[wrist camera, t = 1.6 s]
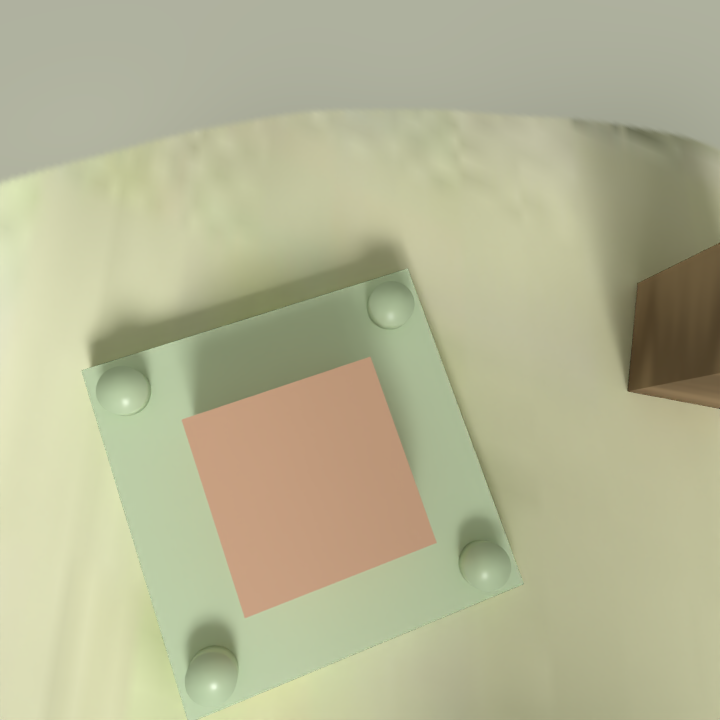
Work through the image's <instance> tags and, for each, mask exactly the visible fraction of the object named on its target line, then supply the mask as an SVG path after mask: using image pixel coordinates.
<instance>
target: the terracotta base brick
mask: <svg viewBox="0 0 720 720" xmlns="http://www.w3.org/2000/svg"><path fill="white" fill-rule="evenodd" d="M182 423H183V426H184V429H185V432H186V435H187V438H188V442H189V445H190V448H191V451H192V454H193V457H194V460H195V464H196V467H197V470H198V473H199V476H200V479H201V482H202V486H203V489H204V492H205V495H206V498H207V501H208V504H209V507H210V511H211V514H212V517H213V520H214V523H215V526H216V529H217V533H218V536H219V539H220V542H221V545H222V548H223V551H224V555H225V558H226V561H227V564H228V567H229V570H230V573H231V576H232V580H233V583H234V586H235V589H236V592H237V595H238V598H239V602H240V605H241V608H242V611H243V614H244V617H245V618H247V617H249V616H252V615H255V614H257V613H260V612H262V611H265V610H267V609H270V608H272V607H275V606H277V605H280V604H282V603H285V602H288V601H290V600H293V599H295V598H298V597H300V596H303V595H305V594H308V593H310V592H313V591H316V590H318V589H321V588H323V587H326V586H328V585H331V584H333V583H336V582H338V581H341V580H344V579H346V578H349V577H351V576H354V575H356V574H359V573H361V572H364V571H366V570H369V569H371V568H374V567H377V566H379V565H382V564H384V563H387V562H389V561H392V560H394V559H397V558H399V557H402V556H405V555H407V554H410V553H412V552H415V551H417V550H420V549H422V548H425V547H427V546H430V545H433V544H435V543H437V542H436V539H435V536H434V534H433V531H432V528H431V525H430V522H429V520H428V517H427V514H426V511H425V508H424V506H423V503H422V500H421V497H420V494H419V492H418V489H417V486H416V483H415V480H414V477H413V475H412V472H411V469H410V466H409V463H408V461H407V458H406V455H405V452H404V449H403V447H402V444H401V441H400V438H399V435H398V433H397V430H396V427H395V424H394V421H393V418H392V416H391V413H390V410H389V407H388V404H387V402H386V399H385V396H384V393H383V390H382V388H381V385H380V382H379V379H378V376H377V374H376V371H375V368H374V365H373V362H372V360H371V357H368V358H365V359H362V360H359V361H356V362H353V363H350V364H347V365H344V366H341V367H338V368H335V369H332V370H329V371H326V372H323V373H320V374H317V375H314V376H311V377H308V378H305V379H302V380H299V381H296V382H293V383H290V384H287V385H284V386H281V387H278V388H275V389H272V390H269V391H266V392H263V393H260V394H257V395H254V396H251V397H248V398H245V399H242V400H239V401H236V402H233V403H230V404H227V405H224V406H221V407H218V408H215V409H212V410H209V411H206V412H203V413H200V414H197V415H194V416H191V417H188V418H185V419H182Z"/></svg>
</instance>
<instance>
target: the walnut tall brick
mask: <svg viewBox="0 0 720 720" xmlns="http://www.w3.org/2000/svg"><path fill="white" fill-rule="evenodd" d="M628 391H629V392H634V393H639V394H645V395H650V396H655V397H660V398H666V399H671V400H676V401H682V402H687V403H692V404H698V405H703V406H708V407H714V408H719V409H720V243H718V244H716V245H714V246H712V247H710V248H708V249H706V250H704V251H702V252H700V253H698V254H696V255H694V256H692V257H690V258H688V259H686V260H684V261H682V262H680V263H678V264H676V265H674V266H672V267H670V268H668V269H666V270H664V271H662V272H660V273H658V274H656V275H654V276H652V277H650V278H648V279H646V280H644V281H642V282H640V283H638V285H637V296H636V307H635V318H634V329H633V339H632V350H631V361H630V372H629V383H628Z"/></svg>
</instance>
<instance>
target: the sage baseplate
mask: <svg viewBox="0 0 720 720" xmlns="http://www.w3.org/2000/svg"><path fill="white" fill-rule="evenodd" d="M368 357H371V360H372V362H373V365H374V368H375V371H376V374H377V376H378V379H379V382H380V385H381V388H382V390H383V393H384V396H385V399H386V402H387V404H388V407H389V410H390V413H391V416H392V418H393V421H394V424H395V427H396V430H397V433H398V435H399V438H400V441H401V444H402V447H403V449H404V452H405V455H406V458H407V461H408V463H409V466H410V469H411V472H412V475H413V477H414V480H415V483H416V486H417V489H418V492H419V494H420V497H421V500H422V503H423V506H424V508H425V511H426V514H427V517H428V520H429V522H430V525H431V528H432V531H433V534H434V536H435V539H436V542H437V543H435V544H433V545H430V546H427V547H425V548H422V549H420V550H417V551H415V552H412V553H410V554H407V555H405V556H402V557H399V558H397V559H394V560H392V561H389V562H387V563H384V564H382V565H379V566H377V567H374V568H371V569H369V570H366V571H364V572H361V573H359V574H356V575H354V576H351V577H349V578H346V579H344V580H341V581H338V582H336V583H333V584H331V585H328V586H326V587H323V588H321V589H318V590H316V591H313V592H310V593H308V594H305V595H303V596H300V597H298V598H295V599H293V600H290V601H288V602H285V603H282V604H280V605H277V606H275V607H272V608H270V609H267V610H265V611H262V612H260V613H257V614H255V615H252V616H249V617H247V618H245V617H244V614H243V611H242V608H241V605H240V602H239V598H238V595H237V592H236V589H235V586H234V583H233V580H232V576H231V573H230V570H229V567H228V564H227V561H226V558H225V555H224V551H223V548H222V545H221V542H220V539H219V536H218V533H217V529H216V526H215V523H214V520H213V517H212V514H211V511H210V507H209V504H208V501H207V498H206V495H205V492H204V489H203V486H202V482H201V479H200V476H199V473H198V470H197V467H196V464H195V460H194V457H193V454H192V451H191V448H190V445H189V442H188V438H187V435H186V432H185V429H184V426H183V423H182V419H185V418H188V417H191V416H194V415H197V414H200V413H203V412H206V411H209V410H212V409H215V408H218V407H221V406H224V405H227V404H230V403H233V402H236V401H239V400H242V399H245V398H248V397H251V396H254V395H257V394H260V393H263V392H266V391H269V390H272V389H275V388H278V387H281V386H284V385H287V384H290V383H293V382H296V381H299V380H302V379H305V378H308V377H311V376H314V375H317V374H320V373H323V372H326V371H329V370H332V369H335V368H338V367H341V366H344V365H347V364H350V363H353V362H356V361H359V360H362V359H365V358H368ZM81 371H82V374H83V377H84V381H85V384H86V387H87V391H88V394H89V397H90V400H91V404H92V407H93V410H94V414H95V417H96V420H97V424H98V427H99V430H100V433H101V437H102V440H103V443H104V447H105V450H106V453H107V456H108V460H109V463H110V466H111V470H112V473H113V476H114V479H115V483H116V486H117V489H118V493H119V496H120V499H121V502H122V506H123V509H124V512H125V516H126V519H127V522H128V526H129V529H130V532H131V535H132V539H133V542H134V545H135V549H136V552H137V555H138V558H139V562H140V565H141V568H142V572H143V575H144V578H145V581H146V585H147V588H148V591H149V595H150V598H151V601H152V604H153V608H154V611H155V614H156V618H157V621H158V624H159V628H160V631H161V634H162V637H163V641H164V644H165V647H166V651H167V654H168V657H169V660H170V664H171V667H172V670H173V674H174V677H175V680H176V683H177V687H178V690H179V693H180V697H181V700H182V703H183V706H184V710H185V713H186V716H187V720H198V719H200V718H203V717H205V716H207V715H210V714H212V713H215V712H217V711H219V710H222V709H224V708H227V707H229V706H231V705H234V704H236V703H239V702H241V701H243V700H246V699H248V698H251V697H253V696H255V695H258V694H260V693H263V692H265V691H268V690H270V689H272V688H275V687H277V686H280V685H282V684H284V683H287V682H289V681H292V680H294V679H296V678H299V677H301V676H304V675H306V674H308V673H311V672H313V671H316V670H318V669H321V668H323V667H325V666H328V665H330V664H333V663H335V662H337V661H340V660H342V659H345V658H347V657H349V656H352V655H354V654H357V653H359V652H361V651H364V650H366V649H369V648H371V647H373V646H376V645H378V644H381V643H383V642H386V641H388V640H390V639H393V638H395V637H398V636H400V635H402V634H405V633H407V632H410V631H412V630H414V629H417V628H419V627H422V626H424V625H426V624H429V623H431V622H434V621H436V620H438V619H441V618H443V617H446V616H448V615H451V614H453V613H455V612H458V611H460V610H463V609H465V608H467V607H470V606H472V605H475V604H477V603H479V602H482V601H484V600H487V599H489V598H491V597H494V596H496V595H499V594H501V593H503V592H506V591H508V590H511V589H513V588H516V587H518V586H520V585H523V584H524V583H523V580H522V577H521V575H520V572H519V569H518V567H517V564H516V561H515V558H514V556H513V553H512V550H511V548H510V545H509V542H508V539H507V537H506V534H505V531H504V529H503V526H502V523H501V520H500V518H499V515H498V512H497V510H496V507H495V504H494V501H493V499H492V496H491V493H490V491H489V488H488V485H487V482H486V480H485V477H484V474H483V472H482V469H481V466H480V463H479V461H478V458H477V455H476V453H475V450H474V447H473V444H472V442H471V439H470V436H469V434H468V431H467V428H466V425H465V423H464V420H463V417H462V415H461V412H460V409H459V406H458V404H457V401H456V398H455V396H454V393H453V390H452V387H451V385H450V382H449V379H448V377H447V374H446V371H445V368H444V366H443V363H442V360H441V358H440V355H439V352H438V349H437V347H436V344H435V341H434V339H433V336H432V333H431V330H430V328H429V325H428V322H427V320H426V317H425V314H424V311H423V309H422V306H421V303H420V301H419V298H418V295H417V292H416V290H415V287H414V284H413V282H412V279H411V276H410V273H409V271H408V269H405V270H401V271H398V272H395V273H392V274H389V275H385V276H382V277H379V278H376V279H373V280H369V281H366V282H363V283H360V284H357V285H353V286H350V287H347V288H344V289H341V290H337V291H334V292H331V293H328V294H325V295H321V296H318V297H315V298H312V299H309V300H305V301H302V302H299V303H296V304H293V305H289V306H286V307H283V308H280V309H277V310H273V311H270V312H267V313H264V314H260V315H257V316H254V317H251V318H248V319H244V320H241V321H238V322H235V323H232V324H228V325H225V326H222V327H219V328H216V329H212V330H209V331H206V332H203V333H200V334H196V335H193V336H190V337H187V338H184V339H180V340H177V341H174V342H171V343H168V344H164V345H161V346H158V347H155V348H152V349H148V350H145V351H142V352H139V353H136V354H132V355H129V356H126V357H123V358H120V359H116V360H113V361H110V362H107V363H104V364H100V365H97V366H94V367H91V368H88V369H84V370H81Z"/></svg>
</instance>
